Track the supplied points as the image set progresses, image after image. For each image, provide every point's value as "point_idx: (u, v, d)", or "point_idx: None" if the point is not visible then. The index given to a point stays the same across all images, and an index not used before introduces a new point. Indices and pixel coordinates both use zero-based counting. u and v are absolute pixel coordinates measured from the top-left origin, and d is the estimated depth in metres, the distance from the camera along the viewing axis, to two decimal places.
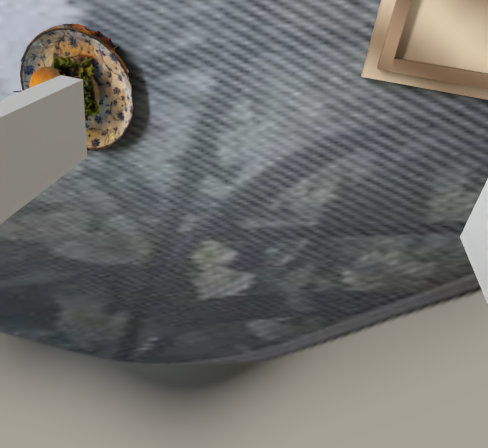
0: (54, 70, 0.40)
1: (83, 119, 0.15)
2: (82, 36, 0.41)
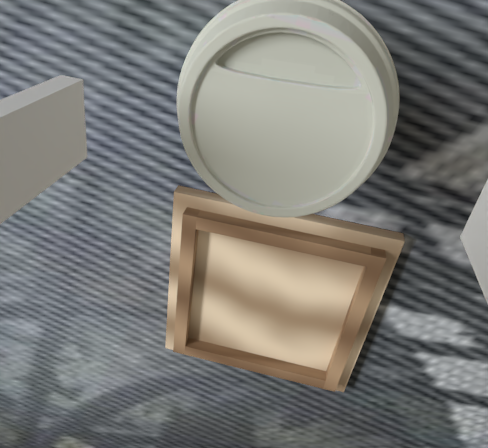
0: None
1: (83, 119, 0.15)
2: None
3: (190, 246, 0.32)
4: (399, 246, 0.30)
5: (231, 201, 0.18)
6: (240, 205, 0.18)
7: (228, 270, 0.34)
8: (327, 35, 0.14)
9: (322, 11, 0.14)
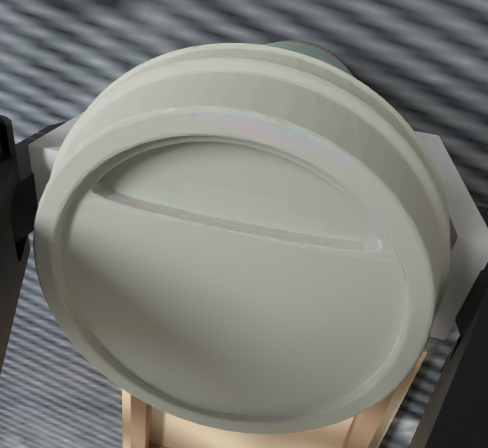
0: None
1: None
2: None
3: None
4: (420, 357, 0.22)
5: (148, 403, 0.10)
6: (164, 409, 0.10)
7: None
8: (310, 155, 0.06)
9: (301, 97, 0.07)
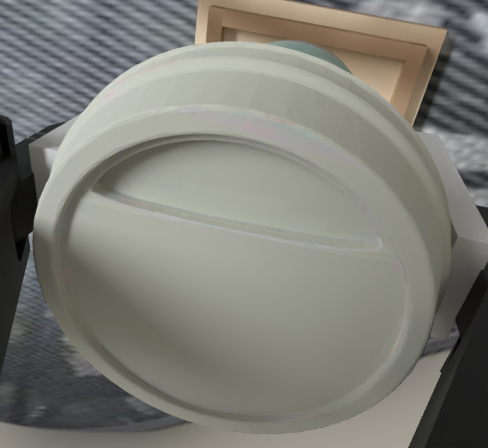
0: None
1: None
2: None
3: None
4: (441, 38, 0.28)
5: (148, 403, 0.10)
6: (164, 409, 0.10)
7: None
8: (310, 154, 0.06)
9: (302, 95, 0.07)
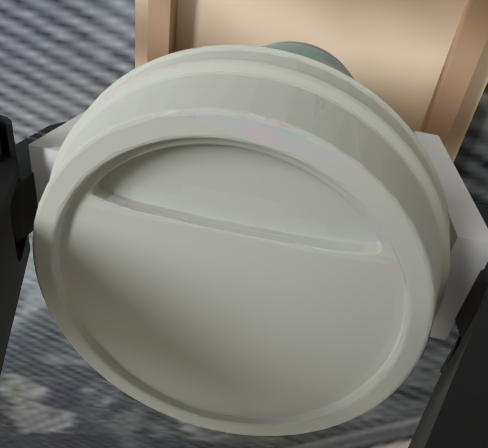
0: None
1: None
2: None
3: None
4: None
5: (148, 405, 0.10)
6: (163, 411, 0.10)
7: (231, 31, 0.20)
8: (310, 158, 0.06)
9: (301, 98, 0.07)
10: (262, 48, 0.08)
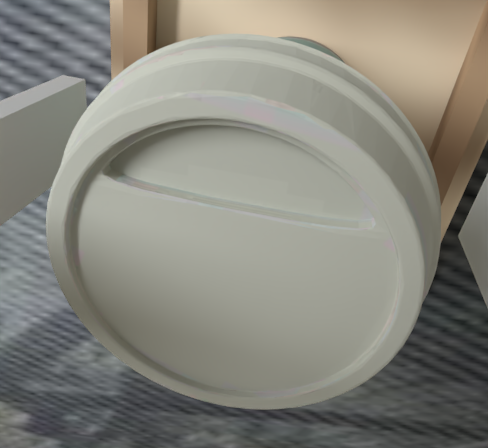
0: None
1: None
2: None
3: None
4: None
5: (154, 380, 0.11)
6: (169, 386, 0.11)
7: None
8: (307, 137, 0.07)
9: (299, 83, 0.07)
10: (263, 37, 0.08)
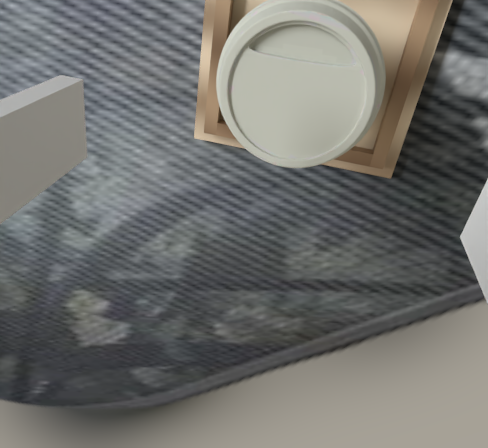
0: None
1: (83, 119, 0.15)
2: None
3: None
4: None
5: (257, 156, 0.23)
6: (264, 158, 0.23)
7: None
8: (331, 26, 0.19)
9: (328, 8, 0.20)
10: None
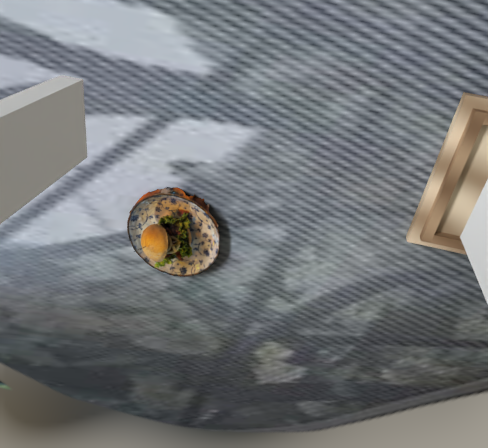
0: (162, 229, 0.50)
1: (83, 119, 0.15)
2: (182, 199, 0.51)
3: (472, 140, 0.41)
4: None
5: None
6: None
7: None
8: None
9: None
10: None
